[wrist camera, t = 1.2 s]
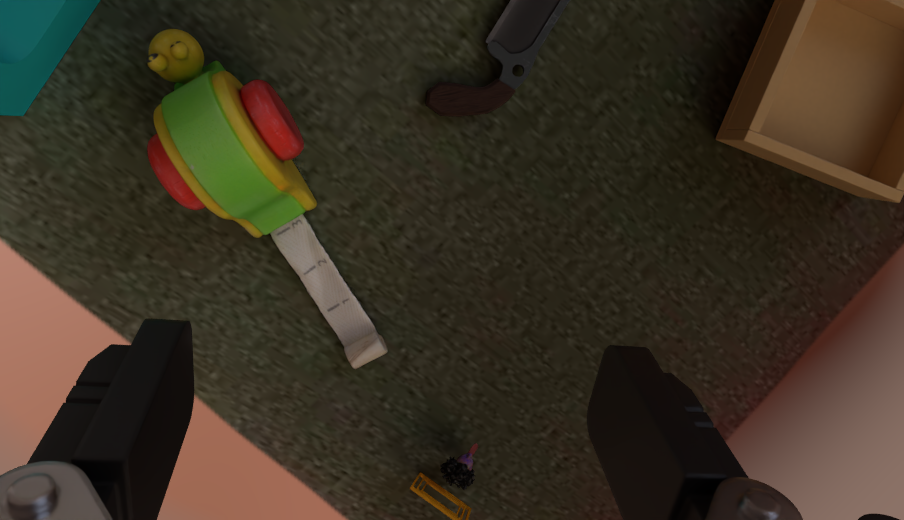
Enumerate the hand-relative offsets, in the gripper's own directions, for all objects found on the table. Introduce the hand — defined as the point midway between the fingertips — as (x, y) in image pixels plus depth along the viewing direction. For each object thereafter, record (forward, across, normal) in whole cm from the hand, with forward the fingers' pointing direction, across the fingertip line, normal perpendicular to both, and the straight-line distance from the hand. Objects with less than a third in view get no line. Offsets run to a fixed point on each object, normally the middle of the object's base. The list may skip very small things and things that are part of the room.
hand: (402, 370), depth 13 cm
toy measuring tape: (+24, +5, +7) cm, 25 cm away
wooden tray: (+24, -24, -2) cm, 34 cm away
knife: (+26, -7, -4) cm, 27 cm away
